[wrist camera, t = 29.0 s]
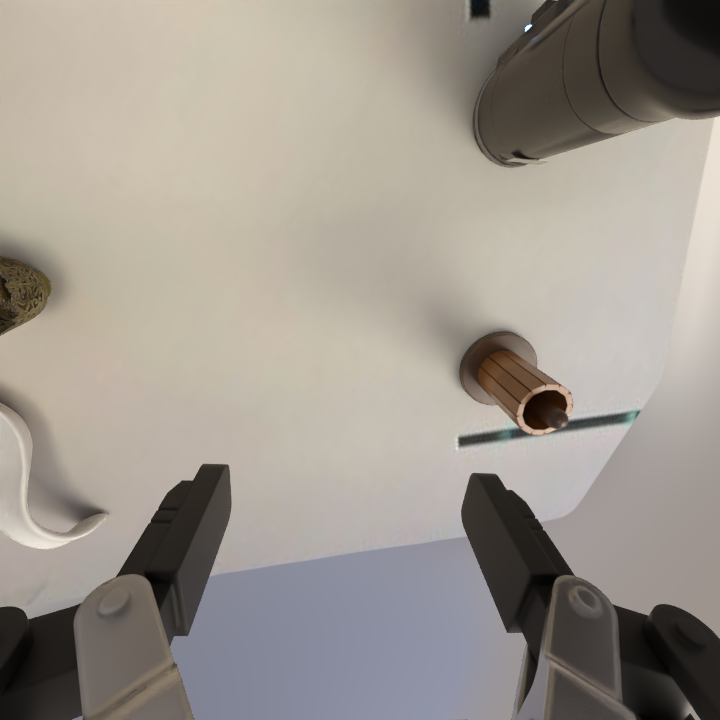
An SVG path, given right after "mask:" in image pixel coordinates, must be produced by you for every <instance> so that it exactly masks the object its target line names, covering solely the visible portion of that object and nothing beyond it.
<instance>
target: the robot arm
mask: <svg viewBox="0 0 720 720" xmlns="http://www.w3.org/2000/svg"><path fill="white" fill-rule="evenodd" d="M718 116H720V0H558V1H555V0H546V1H545V3H544V4H543V5H542V6H541V7H540V8H539V9H538V10H537V11H536V12H535V13H534V14H533V15H532V19H531V24H530V25H528V26H527V27H526V28H525V33H524V34H523V35H522V36H521V37H520V38H519V39H518V40H516V41H515V42H514V43H513V44H512V45H511V46H510V47H509V48H508V49H507V50H506V51H505V52H504V53H503V54H502V55H501V56H500V57H499V60H498V65H497V69H496V70H495V71H494V72H493V73H492V74H491V75H490V76H489V78H488V79H487V80H486V82H485V83H484V85H483V87H482V89H481V91H480V93H479V96H478V98H477V102H476V105H475V111H474V131H475V136H476V139H477V142H478V144H479V146H480V148H481V150H482V151H483V153H484V154H485V155H486V156H487V157H488V158H489V159H490V160H491V161H493V162H494V163H496V164H498V165H501V166H504V167H519V166H523V165H526V164H538V165H539V164H542V163H546V162H545V161H537V160H539V159H543V158H546V157H549V156H553V155H556V154H559V153H562V152H566V151H569V150H572V149H576V148H579V147H582V146H585V145H589V144H592V143H595V142H598V141H602V140H605V139H608V138H611V137H615V136H618V135H621V134H624V133H628V132H631V131H634V130H637V129H640V128H644V127H647V126H650V125H653V124H657V123H660V122H663V121H666V120H669V119H672V118H676V117H677V118H681V119H689V120H699V119H707V118H713V117H718ZM230 512H231V486H230V470H229V466H228V465H225V464H203V465H202V466H201V467H200V469H199V471H198V473H197V474H196V476H195V478H194V480H193V481H183V480H182V481H181V482H180V483H179V484H178V485H176V486H175V487H174V488H173V489H172V490H170V491H169V492H168V493H167V495H166V496H165V498H164V500H163V501H162V503H161V504H160V506H159V509H158V511H156V513H155V514H154V516H153V518H152V519H151V523H149V524H148V526H147V527H146V529H145V531H144V532H143V534H142V536H141V537H140V539H139V540H138V542H137V544H136V545H135V547H134V549H133V550H132V552H131V554H130V555H129V557H128V558H127V560H126V562H125V563H124V565H123V567H122V568H121V570H120V572H119V573H118V574H117V576H116V577H115V578H113V579H111V580H109V581H107V582H105V583H103V584H102V585H100V586H99V587H97V588H96V589H95V590H94V591H92V592H91V593H90V594H89V595H88V596H87V597H86V598H85V600H84V601H83V602H82V603H81V604H78V605H75V606H73V607H70V608H67V609H63V610H59V611H56V612H53V613H50V614H46V615H42V616H39V617H35V618H32V619H29V620H28V618H27V616H26V614H25V612H24V611H23V610H22V609H20V608H17V607H0V720H72V719H74V718H77V717H79V716H82V715H83V720H194V717H193V714H192V710H191V707H190V704H189V701H188V698H187V695H186V691H185V688H184V685H183V681H182V678H181V675H180V672H179V669H178V667H177V664H175V662H174V659H173V656H172V653H171V650H170V645H171V642H172V640H173V637H174V636H188V634H189V631H190V629H191V626H192V623H193V620H194V617H195V614H196V612H197V609H198V606H199V603H200V601H201V598H202V595H203V592H204V589H205V586H206V584H207V581H208V578H209V575H210V572H211V569H212V567H213V564H214V561H215V558H216V555H217V553H218V550H219V547H220V544H221V541H222V538H223V536H224V533H225V530H226V527H227V524H228V521H229V517H230ZM461 516H462V523H463V526H464V529H465V531H466V534H467V536H468V539H469V541H470V544H471V546H472V548H473V551H474V553H475V555H476V558H477V561H478V563H479V565H480V568H481V570H482V573H483V575H484V578H485V580H486V582H487V585H488V587H489V589H490V592H491V595H492V597H493V599H494V602H495V604H496V607H497V609H498V611H499V614H500V616H501V619H502V621H503V624H504V626H505V629H506V631H507V633H523V635H524V637H525V639H526V642H527V644H526V646H525V649H524V654H523V659H522V665H521V670H520V675H519V681H518V686H517V692H516V697H515V702H514V708H513V714H512V719H511V720H695V719H694V718H693V717H692V715H691V713H690V712H691V711H692V710H693V709H694V710H695V712H696V713H697V715H698V716H699V718H700V719H701V720H720V639H719V638H718V637H717V635H715V633H714V632H713V631H712V630H711V629H710V628H709V627H708V626H706V625H705V624H704V623H703V622H701V621H700V620H699V619H697V618H696V617H694V616H693V615H691V614H690V613H688V612H686V611H684V610H682V609H680V608H677V607H675V606H672V605H666V604H660V605H657V606H655V607H654V609H653V610H652V611H651V613H650V615H649V616H647V615H644V614H641V613H637V612H635V611H631V610H628V609H625V608H622V607H619V606H615V605H613V604H612V603H611V602H610V601H609V599H608V598H607V597H606V596H605V595H604V594H603V593H602V592H601V591H600V590H599V589H598V588H597V587H595V586H594V585H592V584H591V583H589V582H588V581H586V580H584V579H582V578H579V577H576V576H575V575H574V574H573V572H572V571H571V569H570V568H569V566H568V565H567V563H566V562H565V560H564V559H563V557H562V556H561V554H560V553H559V551H558V550H557V548H556V547H555V545H554V544H553V542H552V541H551V539H550V538H549V536H548V535H547V533H546V532H545V531H544V530H543V527H542V526H541V524H540V523H539V521H538V520H537V519H535V515H534V514H533V512H532V511H531V509H530V508H529V506H528V505H527V503H526V502H525V501H524V500H523V499H522V498H520V497H519V496H518V495H517V494H516V493H515V492H514V491H512V490H506V488H505V487H504V485H503V483H502V482H501V480H500V479H499V477H498V476H497V475H496V474H486V473H473V474H471V476H470V479H469V482H468V486H467V490H466V493H465V497H464V501H463V505H462V510H461Z"/></svg>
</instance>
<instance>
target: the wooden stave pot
mask: <svg viewBox="0 0 720 720" xmlns="http://www.w3.org/2000/svg"><path fill="white" fill-rule="evenodd" d="M477 379H478V382H479V384H480V386H481V388H482V389H483V390H484V391H485V392H486V393H487V394H488V395H489V396H490V397H491V398H492V399H493V400H494V401H495V402H496V403H497V404H498V405H499V407H500V408H501V409H502V410H503V411H504V412H505V413H506V414H507V415H508V416H509V417H510V418H511V419H512V420H513V421H514V422H515V423H516V424H517V425H518V426H519V428H520V429H522V430H523V431H525V432H527V433H528V434H531V435H544V434H548V433H550V432H552V431H554V430H557V429H553V428H551V427H550V426H548V425H547V424H546V423H545V422H544V421H543V420H542V419H541V418H539V417H538V416H537V415H536V414H535V413H534V412H533V411H532V410H531V409H529V408H528V407H527V406H526V405H525V404H526V403H527V402H528V401H529V400H530V399H531V398H532V396H533V395H536V394H538V393H541V394H542V395H544V396H545V397H546V398H547V399H549V400H550V401H551V402H553V403H554V404H555V405H556V406H558V407H559V408H560V409H561V410H563V411H564V412H565V413H566V414H567V416H568V417H569V416H570V414H571V411H572V408H573V399H572V395H571V393H570V391H569V390H568V389H566V388H565V387H563V386H562V385H561V384H559V383H558V382H556V381H555V380H553V379H552V378H550V377H549V376H547V375H546V374H544V373H543V372H542V371H540V370H539V369H537V368H536V367H534V366H533V365H531V364H530V363H528V362H527V361H525V360H524V359H522V358H521V357H520V356H518V355H517V354H515V353H514V352H512V351H504V350H500V351H496V352H494V353H492V354H490V355H488V357H486V358H485V359H484V361H483V362H482V363H481V364H480V366H479V369H478V374H477Z"/></svg>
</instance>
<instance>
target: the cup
mask: <svg viewBox="0 0 720 720" xmlns="http://www.w3.org/2000/svg"><path fill="white" fill-rule="evenodd" d="M50 293H51V284H50V281H49V280H48V278H47V277H46V276H45V275H44V274H43V273H41V272H39V271H37V270H35V269H32V268H30V267H29V266H27V265H26V264H24V263H22V262H20V261H17V260H14V259H11V258H6V257H1V256H0V336H1V335H3V334H4V333H6V332H8V331H10V330H12V329H14V328H16V327H18V326H20V325H22V324H24V323H26V322H27V321H29V320H31V319H33V318H34V317H36V316H37V315H38V314H39V313H40V312H41V311H42V310H43V309H44V307H45V305H46V303H47V298H48V297H49V295H50Z"/></svg>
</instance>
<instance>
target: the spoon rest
mask: <svg viewBox="0 0 720 720" xmlns="http://www.w3.org/2000/svg"><path fill="white" fill-rule="evenodd" d="M31 458H32V438H31V434H30V431H29V429H28V427H27V425H26V423H25V422H24V420H23V419H22V418H21V417H20V416H19V415H18V414H17V413H16V412H15V411H13V410H12V409H11V408H9V407H7V406H6V405H4V404H2V403H0V530H1V531H2V532H3V533H5V534H6V535H7V536H8V537H10V538H11V539H13V540H14V541H16V542H18V543H20V544H23V545H25V546H28V547H32V548H38V549H52V548H57V547H60V546H62V545H64V544H66V543H68V542H70V541H72V540H75V539H78V538H81V537H83V536H85V535H87V534H89V533H90V532H92V531H93V530H95V529H96V528H97V527H98V526H100V525H101V524H102V523H103V522H104V521H105V519H106V518H107V514H105V513H100V514H96V515H93V516H91V517H89V518H87V519H85V520H82V521H81V522H79V523H78V524H77V525H76V526H75V527H74V528H73V529H72V530H70V531H69V532H67V533H59V532H54V531H51V530H48V529H46V528H44V527H42V526H40V525H39V524H38V523H36V522H35V520H34V519H33V518H32V516H31V514H30V511H29V508H28V503H27V491H28V481H29V473H30V466H31Z"/></svg>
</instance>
